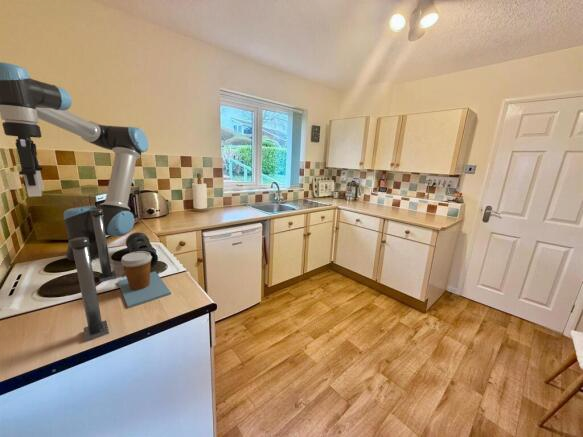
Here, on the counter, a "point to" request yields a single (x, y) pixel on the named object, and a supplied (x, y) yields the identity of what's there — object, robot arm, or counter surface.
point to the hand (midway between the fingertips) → (37, 193)
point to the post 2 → (102, 246)
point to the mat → (144, 291)
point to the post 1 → (88, 289)
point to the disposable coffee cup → (137, 269)
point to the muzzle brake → (141, 246)
